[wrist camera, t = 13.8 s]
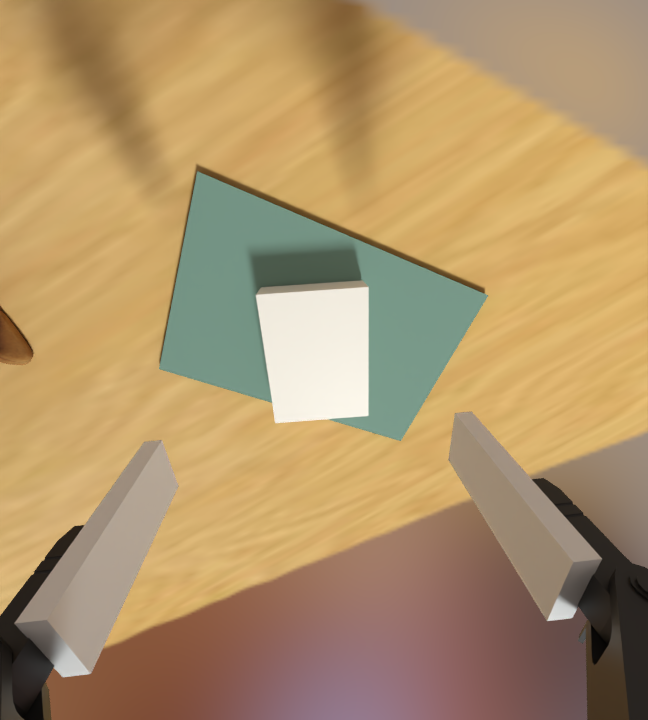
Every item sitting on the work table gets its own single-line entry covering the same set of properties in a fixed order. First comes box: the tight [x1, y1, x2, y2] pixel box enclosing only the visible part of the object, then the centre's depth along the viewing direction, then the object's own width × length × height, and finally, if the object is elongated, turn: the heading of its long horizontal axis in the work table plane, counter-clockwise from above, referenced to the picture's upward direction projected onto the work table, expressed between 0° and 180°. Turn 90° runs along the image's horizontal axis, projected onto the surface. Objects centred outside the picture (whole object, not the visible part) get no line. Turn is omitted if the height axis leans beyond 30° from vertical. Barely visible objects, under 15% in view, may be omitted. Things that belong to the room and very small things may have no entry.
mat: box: [159, 171, 488, 441], centre depth 26 cm, size 24×16×1 cm, turn 69°
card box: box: [256, 280, 369, 423], centre depth 25 cm, size 8×3×11 cm
